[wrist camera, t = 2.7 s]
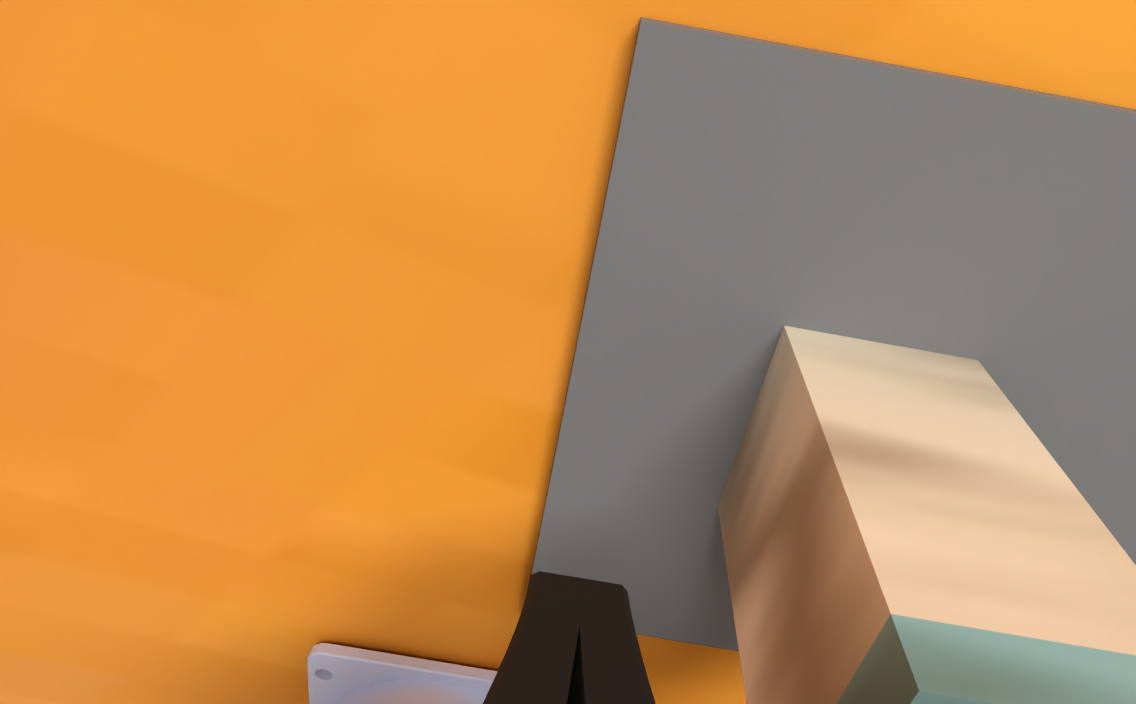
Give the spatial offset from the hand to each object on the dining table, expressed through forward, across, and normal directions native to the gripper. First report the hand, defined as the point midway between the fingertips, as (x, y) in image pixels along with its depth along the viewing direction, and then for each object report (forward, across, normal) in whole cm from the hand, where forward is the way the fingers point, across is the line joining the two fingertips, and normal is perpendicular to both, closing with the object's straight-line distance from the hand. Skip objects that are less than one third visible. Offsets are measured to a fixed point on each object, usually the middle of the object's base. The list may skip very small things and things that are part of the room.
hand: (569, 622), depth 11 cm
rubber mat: (+6, -9, 0) cm, 11 cm away
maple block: (+6, -6, 0) cm, 8 cm away
